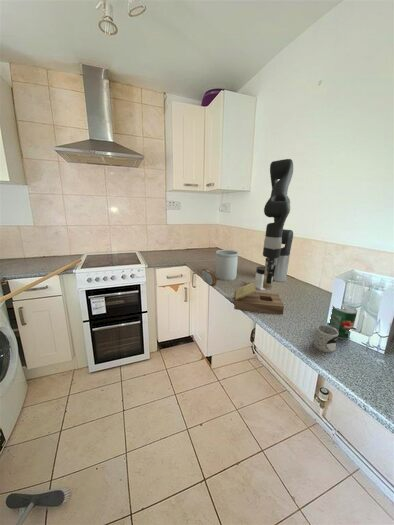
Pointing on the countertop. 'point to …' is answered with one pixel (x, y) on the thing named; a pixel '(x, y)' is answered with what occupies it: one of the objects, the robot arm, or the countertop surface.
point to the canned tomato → (342, 321)
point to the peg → (265, 285)
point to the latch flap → (245, 291)
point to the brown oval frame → (209, 277)
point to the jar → (259, 278)
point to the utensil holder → (226, 264)
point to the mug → (325, 338)
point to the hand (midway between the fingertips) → (267, 281)
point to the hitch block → (260, 303)
